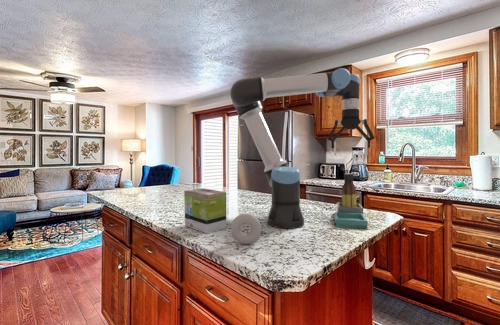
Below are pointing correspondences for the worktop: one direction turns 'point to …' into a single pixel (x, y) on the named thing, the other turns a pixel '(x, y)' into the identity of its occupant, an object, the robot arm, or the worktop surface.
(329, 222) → the worktop surface
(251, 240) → the donut
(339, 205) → the bottle holder
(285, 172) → the robot arm
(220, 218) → the tea box
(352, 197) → the sauce bottle
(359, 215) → the tray
